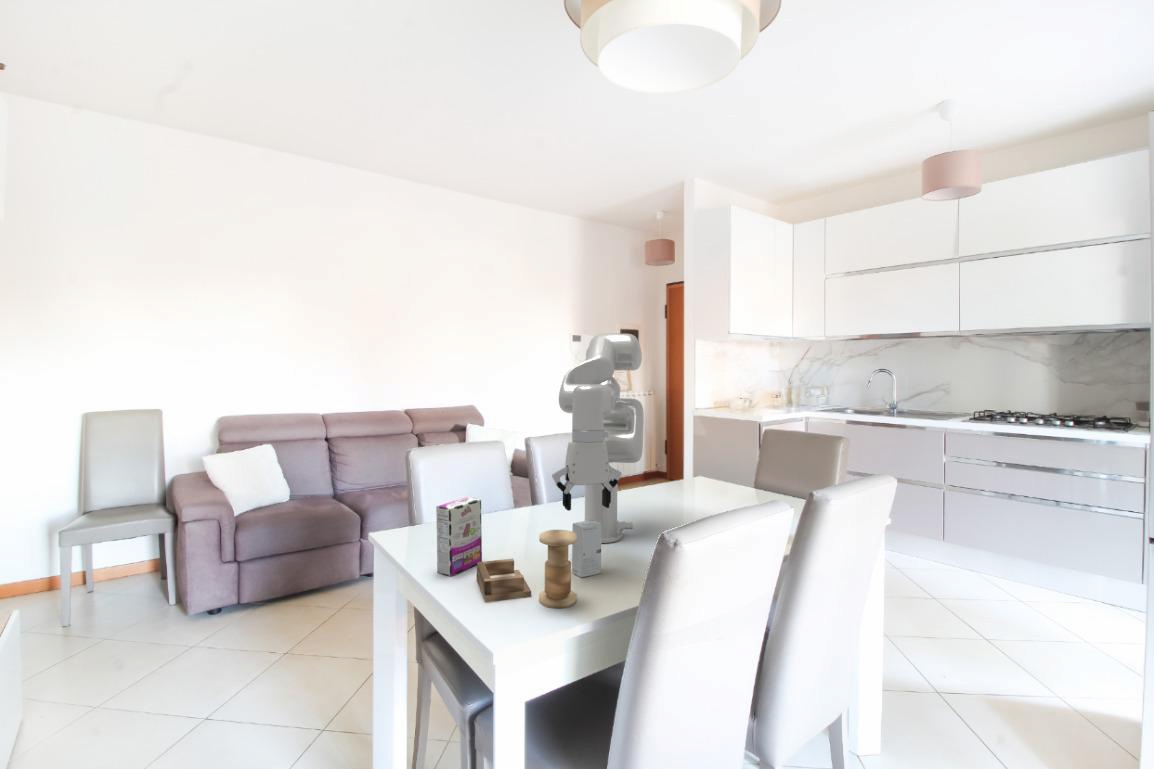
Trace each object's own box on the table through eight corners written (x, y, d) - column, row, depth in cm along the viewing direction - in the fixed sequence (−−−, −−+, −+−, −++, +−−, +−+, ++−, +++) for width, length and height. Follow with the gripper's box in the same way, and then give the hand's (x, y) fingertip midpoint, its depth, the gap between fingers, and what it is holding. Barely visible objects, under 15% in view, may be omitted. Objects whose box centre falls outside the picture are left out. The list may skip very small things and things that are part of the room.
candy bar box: (467, 559, 142) (467, 496, 142) (482, 563, 139) (482, 498, 139) (435, 573, 133) (435, 505, 132) (450, 577, 130) (450, 508, 129)
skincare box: (581, 578, 130) (581, 527, 130) (570, 572, 134) (571, 522, 133) (602, 573, 133) (602, 523, 133) (591, 567, 137) (592, 519, 137)
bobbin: (570, 590, 123) (570, 528, 122) (581, 605, 115) (581, 539, 115) (535, 594, 120) (535, 531, 120) (544, 610, 113) (544, 542, 112)
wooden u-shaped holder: (518, 574, 132) (518, 557, 132) (531, 596, 120) (531, 577, 120) (476, 579, 129) (476, 561, 129) (484, 602, 117) (484, 582, 116)
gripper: (615, 434, 139) (614, 502, 139) (548, 436, 133) (548, 506, 133) (627, 437, 131) (626, 509, 132) (557, 439, 126) (556, 514, 126)
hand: (586, 508), depth 133 cm, fingers open, 9 cm apart
